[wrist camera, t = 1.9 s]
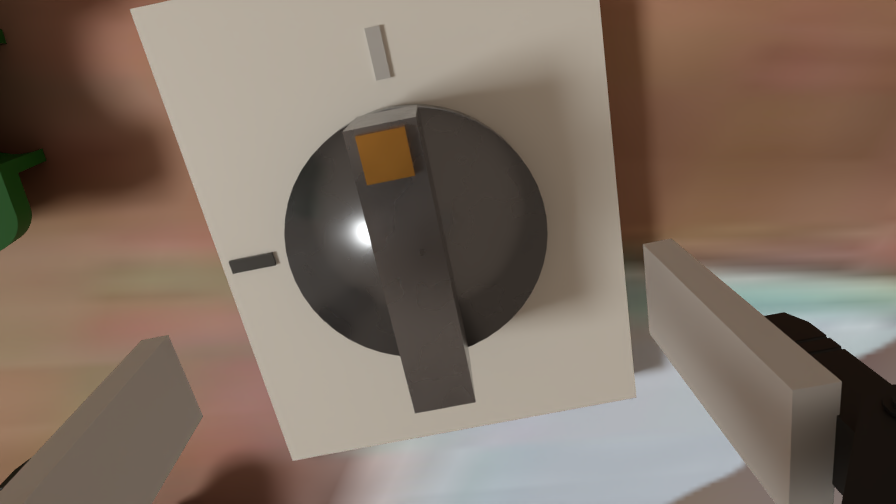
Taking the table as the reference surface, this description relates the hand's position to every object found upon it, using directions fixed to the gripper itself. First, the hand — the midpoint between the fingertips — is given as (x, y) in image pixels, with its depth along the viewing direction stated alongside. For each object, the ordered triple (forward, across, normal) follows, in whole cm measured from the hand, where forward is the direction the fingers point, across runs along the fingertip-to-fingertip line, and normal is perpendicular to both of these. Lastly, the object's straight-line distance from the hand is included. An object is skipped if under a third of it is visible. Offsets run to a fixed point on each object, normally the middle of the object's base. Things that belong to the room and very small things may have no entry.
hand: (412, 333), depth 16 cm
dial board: (+12, 0, 0) cm, 12 cm away
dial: (+10, 0, 0) cm, 10 cm away
